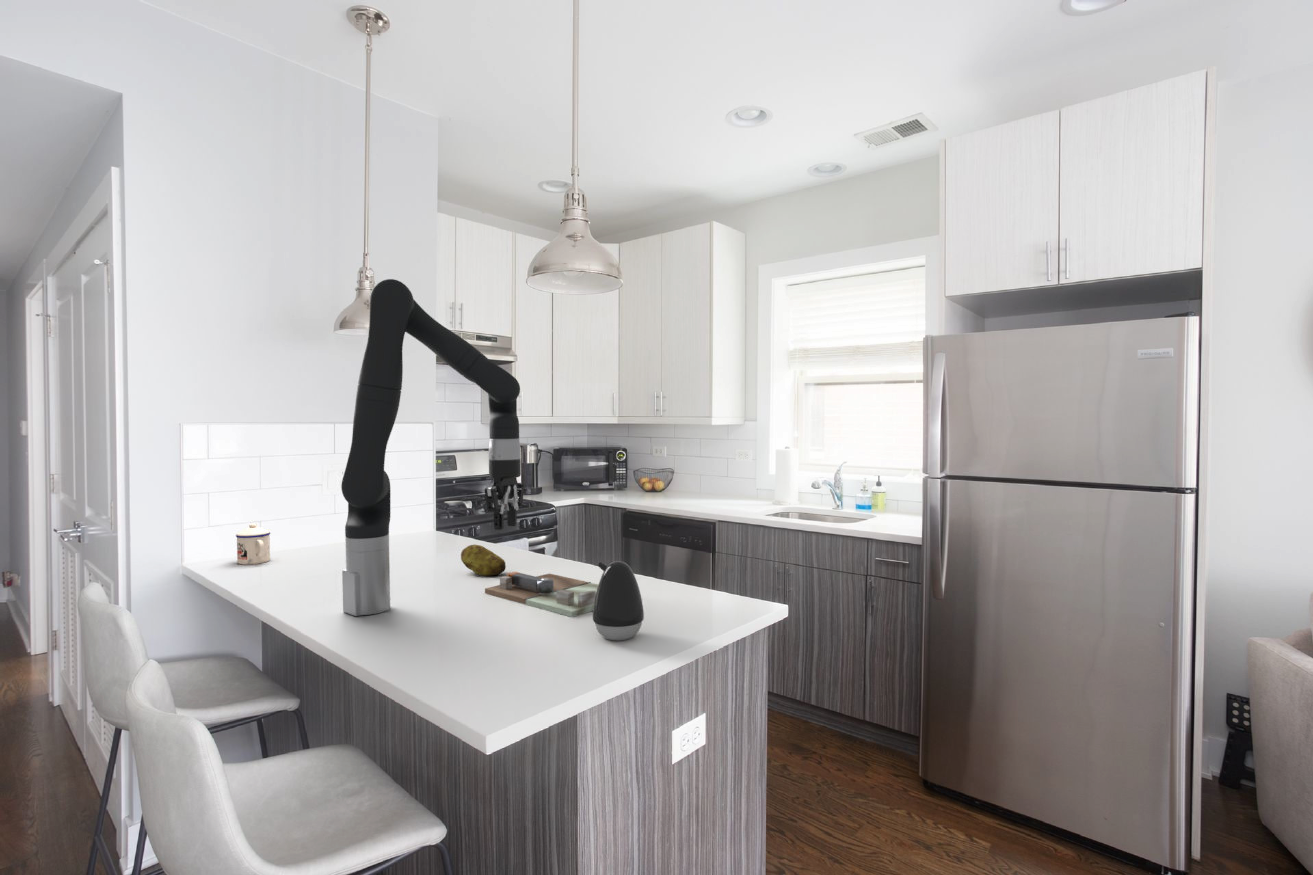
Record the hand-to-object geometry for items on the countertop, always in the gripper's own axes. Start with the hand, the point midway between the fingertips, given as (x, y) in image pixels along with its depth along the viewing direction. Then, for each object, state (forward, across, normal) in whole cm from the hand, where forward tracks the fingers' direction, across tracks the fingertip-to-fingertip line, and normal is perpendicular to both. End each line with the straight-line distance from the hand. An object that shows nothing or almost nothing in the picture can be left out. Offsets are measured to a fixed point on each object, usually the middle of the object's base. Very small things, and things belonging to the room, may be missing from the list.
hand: (505, 527), depth 167 cm
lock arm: (+15, +5, -4) cm, 17 cm away
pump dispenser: (+18, -17, -37) cm, 44 cm away
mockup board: (+17, +7, -11) cm, 22 cm away
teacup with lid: (+18, +10, +96) cm, 98 cm away
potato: (+18, +20, +21) cm, 34 cm away
